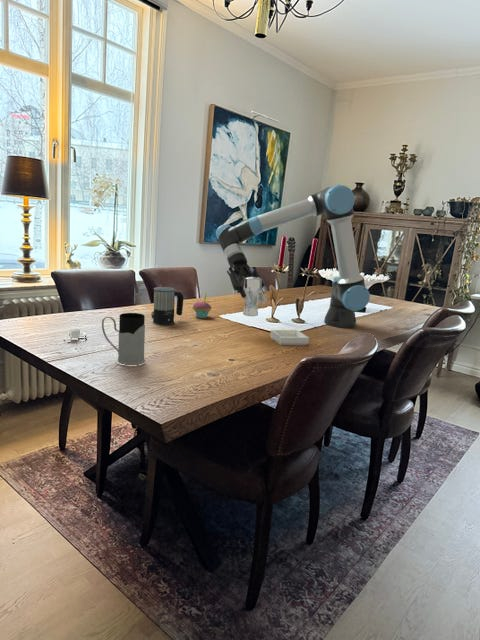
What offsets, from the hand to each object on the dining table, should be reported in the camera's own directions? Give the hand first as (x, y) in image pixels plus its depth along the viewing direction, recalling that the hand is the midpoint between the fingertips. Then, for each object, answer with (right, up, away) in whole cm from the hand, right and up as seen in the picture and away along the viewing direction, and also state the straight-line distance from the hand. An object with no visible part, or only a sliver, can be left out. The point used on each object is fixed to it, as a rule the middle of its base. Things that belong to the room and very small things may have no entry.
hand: (256, 303), depth 172 cm
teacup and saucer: (-62, -14, -18) cm, 66 cm away
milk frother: (-41, -7, +18) cm, 46 cm away
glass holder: (-44, -20, -36) cm, 60 cm away
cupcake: (-25, -5, +30) cm, 39 cm away
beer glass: (-2, -5, +4) cm, 7 cm away
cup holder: (+13, -15, +2) cm, 20 cm away
